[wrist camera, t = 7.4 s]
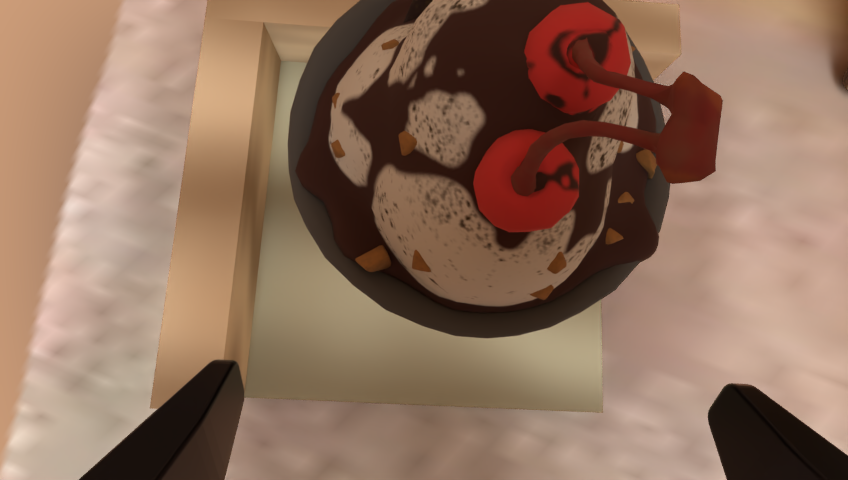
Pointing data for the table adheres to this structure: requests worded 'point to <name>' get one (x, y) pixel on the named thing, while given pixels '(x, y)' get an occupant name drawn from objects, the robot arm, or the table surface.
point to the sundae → (490, 157)
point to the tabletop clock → (845, 80)
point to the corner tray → (306, 265)
